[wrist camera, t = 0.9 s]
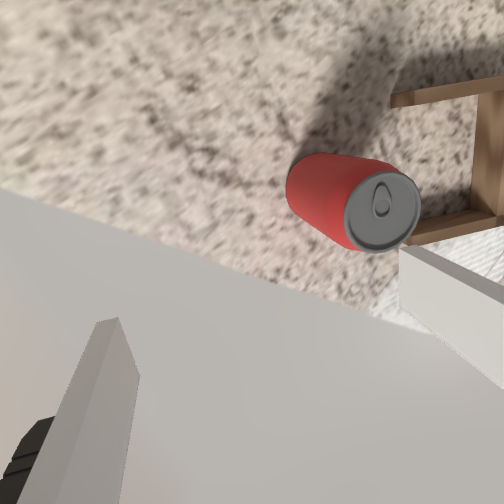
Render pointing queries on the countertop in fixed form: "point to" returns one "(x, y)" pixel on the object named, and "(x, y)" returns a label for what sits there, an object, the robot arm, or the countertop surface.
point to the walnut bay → (484, 163)
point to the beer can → (354, 200)
